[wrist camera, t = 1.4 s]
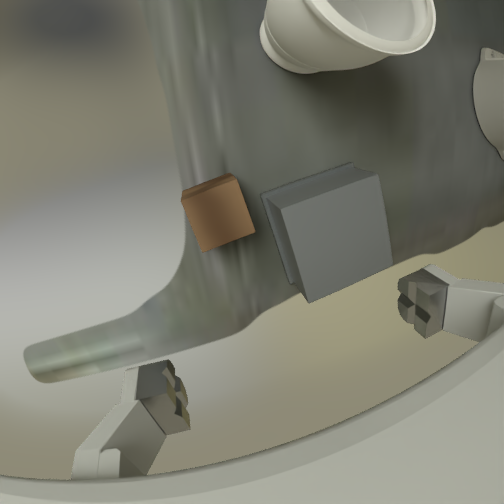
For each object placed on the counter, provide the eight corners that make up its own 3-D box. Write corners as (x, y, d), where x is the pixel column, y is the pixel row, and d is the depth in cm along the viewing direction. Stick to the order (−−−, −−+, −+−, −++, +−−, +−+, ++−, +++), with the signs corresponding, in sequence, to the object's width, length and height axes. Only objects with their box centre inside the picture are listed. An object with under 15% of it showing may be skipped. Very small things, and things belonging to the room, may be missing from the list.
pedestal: (350, 162, 32) (380, 168, 26) (368, 247, 36) (396, 267, 31) (259, 193, 31) (274, 206, 26) (288, 281, 36) (305, 308, 30)
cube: (229, 172, 30) (236, 179, 26) (245, 217, 32) (255, 232, 28) (182, 190, 30) (180, 200, 25) (200, 235, 32) (202, 252, 27)
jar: (343, 9, 25) (427, -40, 11) (345, 90, 29) (442, 73, 15) (250, -7, 23) (293, -88, 10) (247, 78, 27) (296, 32, 13)
